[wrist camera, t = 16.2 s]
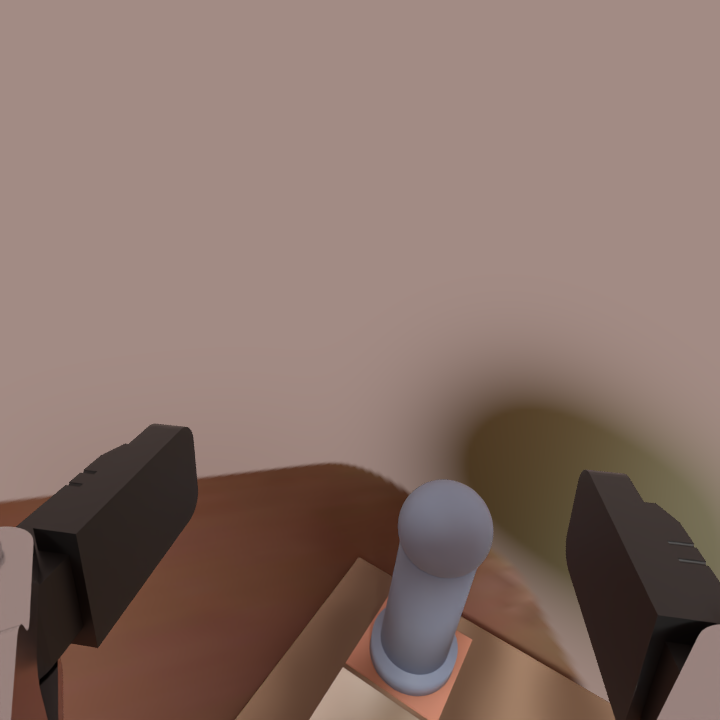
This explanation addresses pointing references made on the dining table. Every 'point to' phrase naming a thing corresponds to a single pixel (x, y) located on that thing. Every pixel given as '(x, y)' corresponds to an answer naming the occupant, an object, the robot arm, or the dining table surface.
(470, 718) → the game board
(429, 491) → the pawn
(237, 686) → the dining table surface
